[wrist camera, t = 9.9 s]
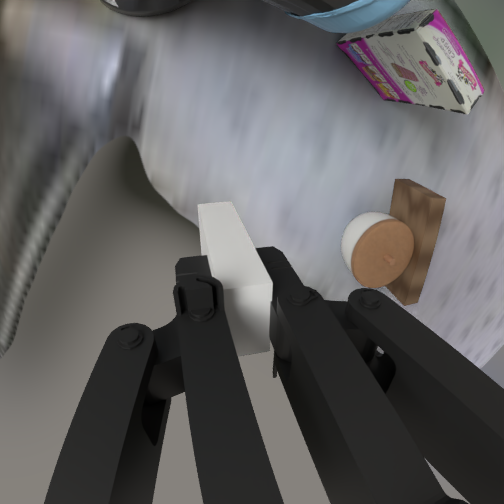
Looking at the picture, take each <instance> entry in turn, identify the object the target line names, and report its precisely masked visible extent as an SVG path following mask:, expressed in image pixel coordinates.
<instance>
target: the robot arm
mask: <svg viewBox="0 0 504 504" xmlns="http://www.w3.org/2000/svg"><path fill="white" fill-rule="evenodd" d="M100 1H101V2H102V3H103V4H104V5H106V6H107V7H108V8H110V9H112V10H114V11H116V12H119V13H122V14H126V15H131V16H152V15H158V14H163V13H166V12H170V11H172V10H175V9H177V8H179V7H182V6H183V5H185V4H187V3H188V2H190V1H191V0H100ZM262 1H264V2H267V3H269V4H271V5H273V6H275V7H277V8H279V9H281V10H284V11H285V13H286V14H287V15H289V16H291V17H294V18H297V19H303V20H305V21H307V22H309V23H311V24H313V25H315V26H317V27H319V28H321V29H323V30H325V31H328V32H332V33H354V32H358V31H362V30H365V29H368V28H370V27H372V26H375V25H377V24H379V23H381V22H382V21H384V20H386V19H388V18H389V17H391V16H392V15H394V14H395V13H396V12H398V11H399V10H400V9H402V8H403V7H404V6H405V5H406V4H407V3H408V2H409V1H410V0H262ZM198 214H199V227H200V240H201V251H202V256H193V257H185V258H180V259H179V261H178V263H177V264H176V266H175V270H176V285H175V287H174V290H173V295H174V300H175V306H176V312H177V315H176V317H175V318H174V319H173V320H172V321H171V322H170V323H168V324H167V325H165V326H163V327H161V328H158V329H155V330H153V331H152V330H151V329H150V328H149V327H147V326H146V325H143V324H139V323H130V324H125V325H122V326H119V327H118V328H116V329H115V330H113V331H112V332H111V334H110V335H109V336H108V338H107V340H106V342H105V344H104V346H103V349H102V351H101V353H100V355H99V357H98V360H97V362H96V364H95V366H94V369H93V371H92V373H91V376H90V378H89V381H88V383H87V385H86V387H85V390H84V392H83V395H82V397H81V400H80V402H79V405H78V407H77V410H76V412H75V415H74V417H73V420H72V422H71V425H70V428H69V430H68V433H67V436H66V438H65V441H64V444H63V447H62V449H61V452H60V455H59V458H58V461H57V464H56V467H55V470H54V473H53V476H52V479H51V482H50V486H49V489H48V492H47V495H46V499H45V502H44V504H152V502H153V495H154V489H155V483H156V478H157V472H158V466H159V461H160V455H161V450H162V444H163V439H164V434H165V429H166V423H167V419H168V414H169V409H170V404H171V397H173V396H175V395H178V394H180V393H183V392H185V395H186V402H187V409H188V417H189V424H190V430H191V436H192V442H193V449H194V455H195V461H196V466H197V472H198V478H199V483H200V488H201V493H202V498H203V503H204V504H284V502H283V499H282V497H281V494H280V491H279V488H278V485H277V482H276V479H275V476H274V473H273V470H272V467H271V464H270V461H269V458H268V455H267V451H266V449H265V445H264V442H263V439H262V436H261V433H260V430H259V427H258V423H257V420H256V417H255V413H254V410H253V407H252V404H251V400H250V397H249V394H248V391H247V387H246V384H245V380H244V377H243V373H242V370H241V367H240V363H239V360H238V356H244V355H250V354H256V353H261V352H267V351H270V340H271V343H272V345H273V348H274V361H273V378H275V377H276V376H277V371H278V374H279V376H280V379H281V381H282V384H283V386H284V389H285V392H286V394H287V397H288V399H289V402H290V404H291V407H292V409H293V412H294V415H295V417H296V419H297V422H298V425H299V427H300V429H301V432H302V435H303V437H304V440H305V442H306V445H307V447H308V450H309V452H310V454H311V457H312V459H313V462H314V464H315V467H316V469H317V471H318V474H319V477H320V479H321V481H322V484H323V486H324V488H325V491H326V493H327V496H328V498H329V501H330V503H331V504H468V503H467V502H465V501H463V500H459V499H454V498H450V497H449V496H447V495H446V494H445V492H444V491H443V489H442V487H441V486H440V484H439V482H438V481H437V479H436V478H435V475H434V474H433V472H432V470H431V469H430V467H429V465H428V463H427V462H426V460H427V461H428V462H429V463H430V464H431V465H432V466H433V467H434V468H435V469H436V470H437V471H438V472H439V473H440V474H441V475H442V476H443V477H444V478H445V479H446V480H447V481H448V482H449V483H450V484H451V485H452V486H453V487H454V488H455V489H456V490H457V491H458V492H459V493H460V494H461V495H462V496H463V497H464V498H465V499H466V500H467V501H468V502H469V503H470V504H504V389H503V388H502V387H501V386H499V385H498V384H497V383H496V382H494V381H493V380H492V379H491V378H490V377H489V376H487V375H486V374H485V373H484V372H483V371H481V370H480V369H479V368H478V367H477V366H475V365H474V364H473V363H472V362H470V361H469V360H468V359H467V358H465V357H464V356H463V355H462V354H461V353H459V352H458V351H457V350H456V349H454V348H453V347H452V346H451V345H449V344H448V343H447V342H446V341H444V340H443V339H442V338H440V337H439V336H438V335H437V334H435V333H434V332H433V331H432V330H430V329H429V328H428V327H426V326H425V325H424V324H423V323H421V322H420V321H419V320H417V319H416V318H415V317H414V316H412V315H411V314H410V313H408V312H407V311H406V310H404V309H403V308H402V307H400V306H399V305H398V304H397V303H395V302H394V301H393V300H391V299H390V298H389V297H387V296H386V295H385V294H383V293H381V292H379V291H377V290H374V289H369V288H361V289H357V290H354V291H353V292H351V293H350V295H349V297H348V302H346V301H329V300H324V299H323V298H322V296H321V295H320V294H319V293H318V292H317V291H316V290H314V289H312V288H310V287H306V286H304V285H303V283H302V282H301V280H300V279H299V277H298V276H297V274H296V272H295V271H294V269H293V268H292V267H291V265H290V263H289V262H288V261H287V258H286V257H285V255H284V254H283V252H281V251H280V250H278V249H277V248H275V247H273V246H272V247H263V248H255V247H254V245H253V243H252V241H251V239H250V237H249V235H248V233H247V231H246V230H245V228H244V226H243V224H242V222H241V220H240V218H239V216H238V214H237V212H236V210H235V208H234V206H233V204H232V202H231V201H228V202H217V203H207V204H198ZM378 346H379V347H380V348H381V349H382V350H383V351H384V354H381V353H379V352H378V351H377V347H378ZM425 459H426V460H425Z"/></svg>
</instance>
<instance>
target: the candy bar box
mask: <svg viewBox="0 0 504 504" xmlns="http://www.w3.org/2000/svg"><path fill="white" fill-rule="evenodd" d="M336 44H337V45H338V46H339V48H340V49H341V50H342V51H343V52H344V53H345V54H346V55H347V56H348V57H349V58H350V60H351V61H352V62H353V63H354V64H355V65H356V66H357V68H358V69H359V70H360V71H361V72H362V73H363V75H364V76H365V77H366V78H367V79H368V81H369V82H370V83H371V84H372V86H373V87H374V88H375V89H376V91H377V92H378V93H379V95H380V96H381V97H382V99H383V100H388V101H395V102H402V103H409V104H415V105H422V106H427V107H433V108H438V109H444V110H449V111H453V112H458V113H463V114H466V115H468V113H469V112H470V111H471V109H472V108H473V106H474V105H475V103H476V102H477V101H478V99H479V97H481V96H482V94H483V92H484V88H483V86H482V84H481V82H480V80H479V78H478V76H477V74H476V72H475V70H474V69H473V67H472V65H471V63H470V61H469V59H468V57H467V56H466V54H465V52H464V50H463V49H462V47H461V45H460V44H459V42H458V40H457V39H456V37H455V35H454V34H453V32H452V30H451V29H450V27H449V26H448V24H447V23H446V21H445V20H444V18H443V17H442V15H441V14H440V12H439V11H438V9H431V10H425V11H419V12H414V13H408V14H403V15H398V16H393V17H389V18H388V19H386V20H384V21H382V22H381V23H379V24H377V25H375V26H372V27H370V28H368V29H365V30H362V31H358V32H354V33H347V34H346V35H345V36H344V37H343V38H341V39H340V40H339V41H338V42H337V43H336Z"/></svg>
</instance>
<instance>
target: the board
mask: <svg viewBox="0 0 504 504" xmlns="http://www.w3.org/2000/svg"><path fill="white" fill-rule="evenodd" d="M445 202H446V198H444V197H442V196H441V195H439V194H437V193H435V192H433V191H431V190H429V189H427V188H425V187H423V186H421V185H420V184H418V183H416V182H414V181H412V180H410V179H395V183H394V190H393V196H392V202H391V208H390V214H389V215H390V216H392V217H394V218H396V219H397V220H399V221H401V222H403V223H405V224H406V225H407V226H408V227H409V228H410V229H411V231H412V233H413V237H414V250H413V254H412V257H411V260H410V262H409V264H408V265H407V267H406V268H405V270H404V271H403V272H402V273H401V275H400V276H399V277H397V278H396V279H395V280H394V281H392V282H391V283H389V284H387V285H385V286H386V287H387V288H388V289H389V290H390V292H391V293H392V294H393V295H394V296H395V297H396V298H397V299H398V300H399V301H400V302H401V303H402V304H403V305H404V306H406V305H410V304H414V303H418V300H419V297H420V294H421V291H422V288H423V285H424V281H425V278H426V275H427V272H428V268H429V265H430V262H431V258H432V255H433V251H434V247H435V244H436V240H437V236H438V232H439V228H440V224H441V220H442V215H443V211H444V207H445Z"/></svg>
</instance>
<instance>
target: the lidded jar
mask: <svg viewBox="0 0 504 504" xmlns="http://www.w3.org/2000/svg"><path fill="white" fill-rule="evenodd" d="M413 250H414V237H413V233H412V231H411V229H410V228H409V227H408V226H407V225H406V224H405V223H403V222H401V221H399V220H397V219H396V218H394V217H392V216H390V215H388V214H385V213H381V212H366V213H363V214H361V215H358V216H357V217H355V218H354V219H353V220H351V221H350V222H349V223H348V225H347V226H346V228H345V230H344V232H343V235H342V239H341V252H342V257H343V259H344V261H345V264H346V265H347V267H348V269H349V270H350V271H351V273H352V274H353V275H354V277H355V278H356V280H357V281H358V282H359V283H360V284H361V285H363V286H365V287H369V288H378V287H382V286H385V285H387V284H389V283H391V282H392V281H394V280H395V279H396V278H397V277H399V276H400V275H401V273H402V272H403V271H404V270H405V268H406V267H407V265H408V264H409V262H410V260H411V257H412V254H413Z"/></svg>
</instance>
